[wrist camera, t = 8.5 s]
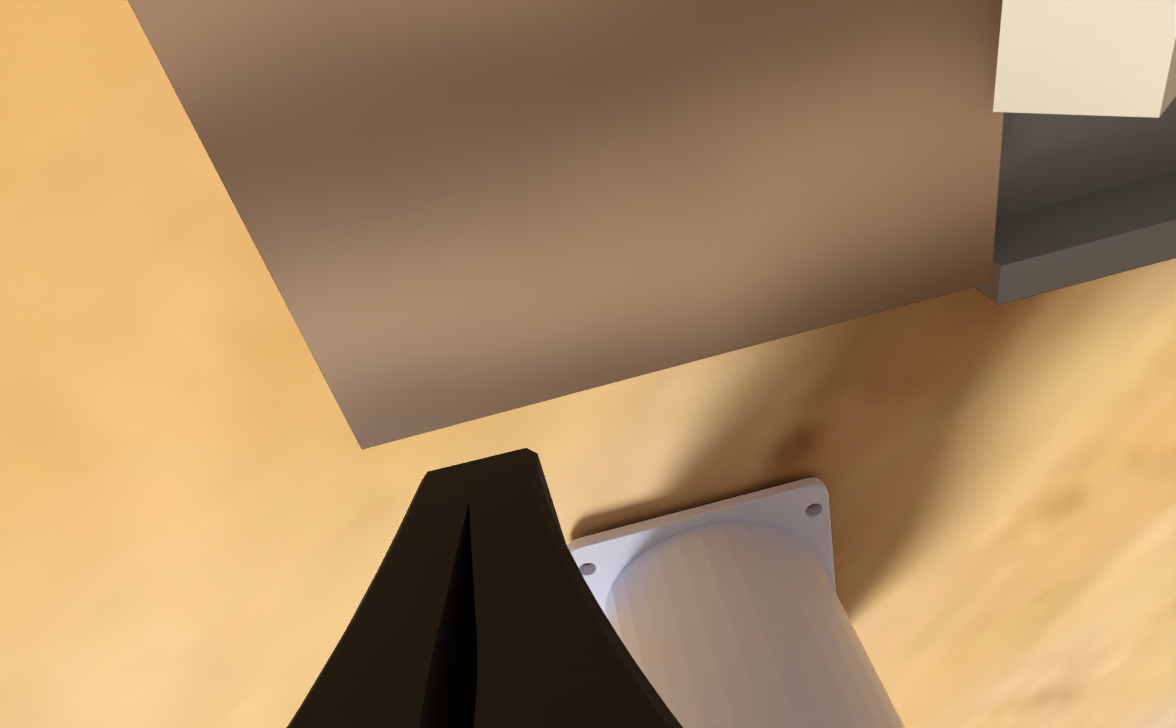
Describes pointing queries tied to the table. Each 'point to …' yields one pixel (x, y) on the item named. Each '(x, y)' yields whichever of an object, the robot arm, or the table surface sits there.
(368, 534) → the table surface
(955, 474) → the table surface
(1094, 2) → the tile
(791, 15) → the walnut plate
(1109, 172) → the box
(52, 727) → the table surface
